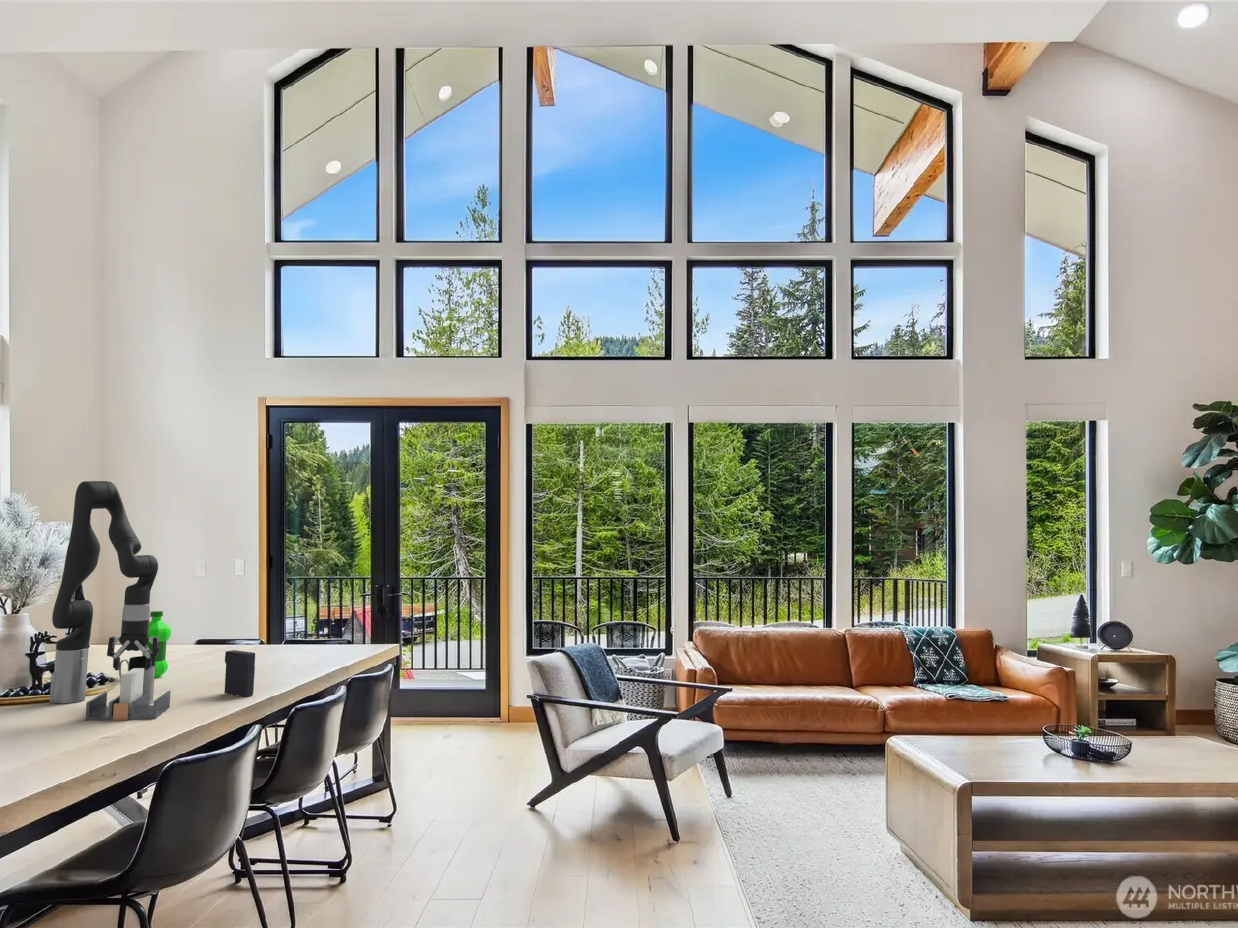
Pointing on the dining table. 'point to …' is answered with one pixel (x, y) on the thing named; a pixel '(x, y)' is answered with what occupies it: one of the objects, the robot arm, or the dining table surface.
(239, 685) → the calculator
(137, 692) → the panel
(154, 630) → the plastic bottle
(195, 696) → the dining table surface
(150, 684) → the tall mug
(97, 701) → the rack
